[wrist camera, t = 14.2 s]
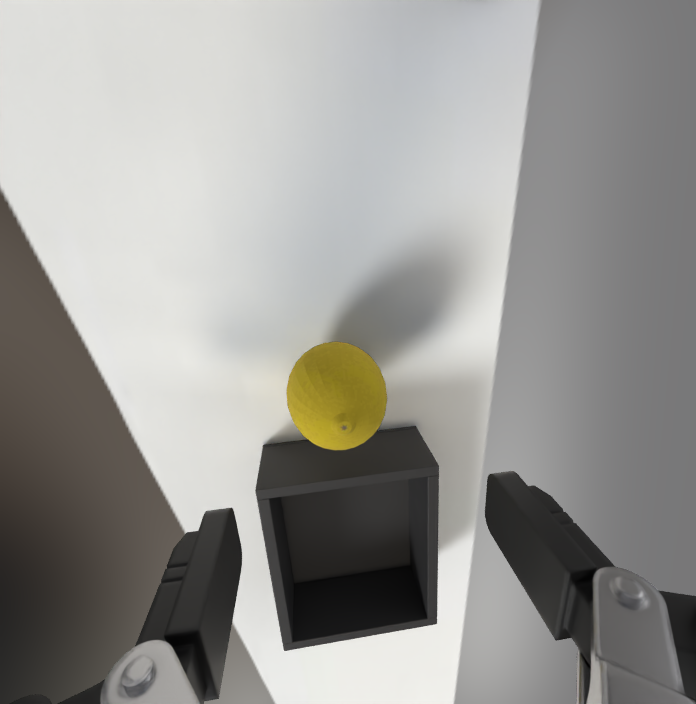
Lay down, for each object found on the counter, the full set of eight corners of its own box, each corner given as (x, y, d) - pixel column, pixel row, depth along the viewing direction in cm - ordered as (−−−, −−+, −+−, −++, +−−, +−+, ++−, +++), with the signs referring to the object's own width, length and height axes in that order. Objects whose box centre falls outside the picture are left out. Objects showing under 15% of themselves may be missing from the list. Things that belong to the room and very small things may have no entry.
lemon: (376, 330, 24) (411, 376, 17) (366, 407, 26) (393, 480, 18) (291, 324, 23) (287, 369, 16) (286, 403, 25) (280, 478, 18)
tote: (263, 445, 26) (255, 490, 21) (415, 425, 27) (439, 465, 22) (286, 588, 30) (283, 651, 26) (417, 567, 31) (437, 624, 27)
